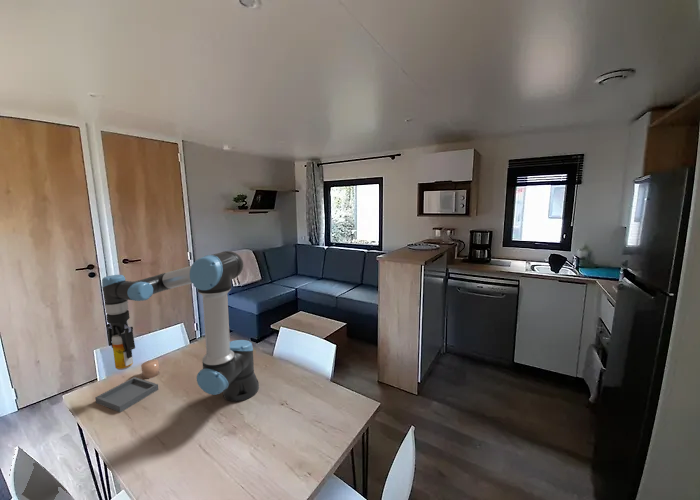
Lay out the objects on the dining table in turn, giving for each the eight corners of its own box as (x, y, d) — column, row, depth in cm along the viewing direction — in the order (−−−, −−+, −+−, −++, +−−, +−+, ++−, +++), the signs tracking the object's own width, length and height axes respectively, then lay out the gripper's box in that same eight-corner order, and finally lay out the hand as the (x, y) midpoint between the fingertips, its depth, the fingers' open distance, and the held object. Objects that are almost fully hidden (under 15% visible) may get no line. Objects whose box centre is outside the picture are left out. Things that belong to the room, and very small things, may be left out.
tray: (158, 389, 133) (157, 384, 133) (120, 412, 119) (119, 406, 118) (135, 382, 139) (134, 376, 139) (96, 402, 124) (95, 397, 124)
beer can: (126, 370, 124) (121, 337, 121) (111, 370, 124) (107, 337, 122) (136, 363, 130) (132, 331, 127) (123, 362, 130) (119, 331, 128)
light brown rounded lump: (162, 372, 147) (161, 361, 146) (148, 380, 141) (147, 368, 140) (153, 369, 150) (152, 358, 149) (139, 377, 143) (137, 365, 142)
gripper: (141, 311, 123) (147, 362, 127) (113, 306, 130) (119, 354, 133) (122, 318, 116) (129, 371, 120) (93, 311, 123) (100, 362, 126)
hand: (123, 362), depth 126 cm, fingers closed on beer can, 6 cm apart
